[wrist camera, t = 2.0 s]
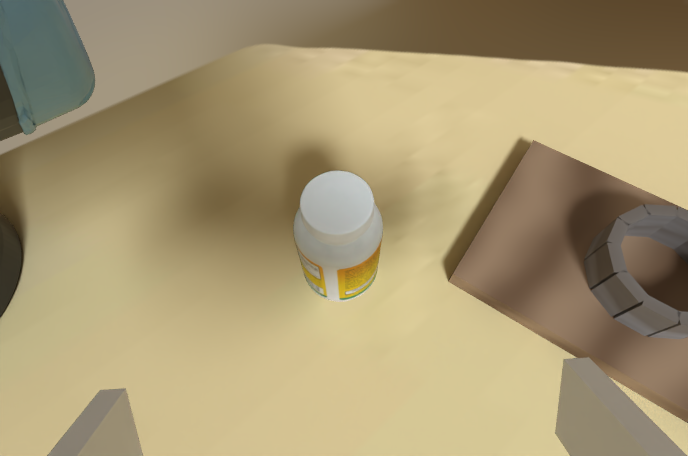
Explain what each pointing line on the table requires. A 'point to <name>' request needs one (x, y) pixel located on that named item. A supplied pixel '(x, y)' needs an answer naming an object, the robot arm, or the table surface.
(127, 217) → the table surface
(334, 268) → the supplement bottle
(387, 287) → the table surface
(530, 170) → the collar board
